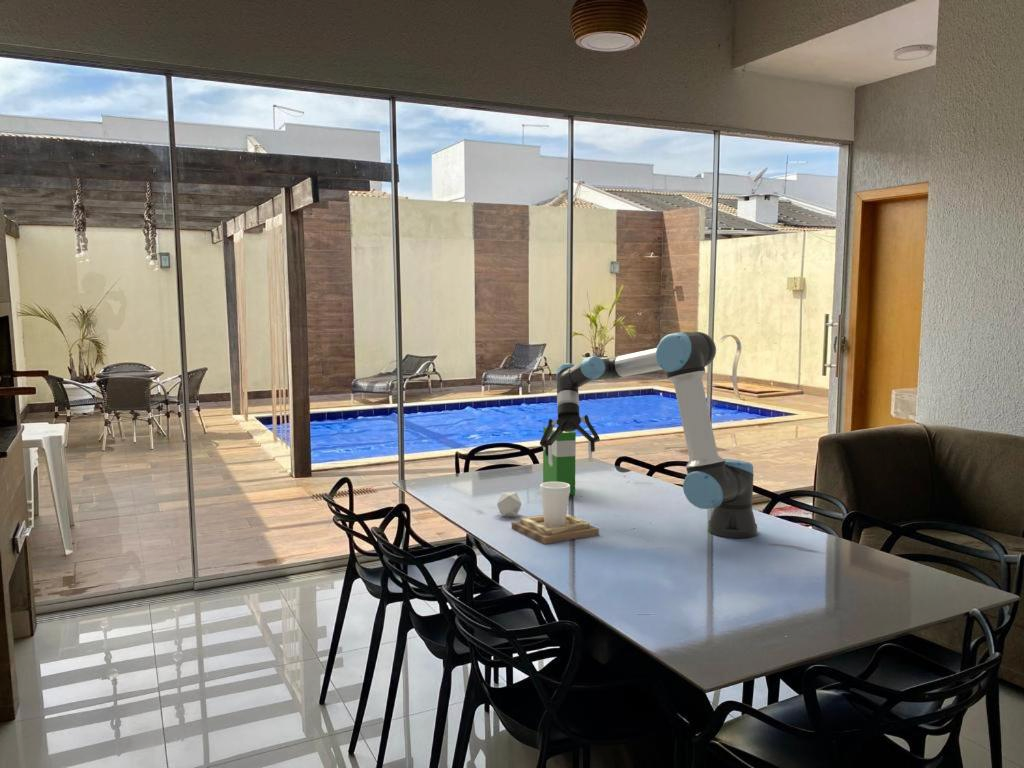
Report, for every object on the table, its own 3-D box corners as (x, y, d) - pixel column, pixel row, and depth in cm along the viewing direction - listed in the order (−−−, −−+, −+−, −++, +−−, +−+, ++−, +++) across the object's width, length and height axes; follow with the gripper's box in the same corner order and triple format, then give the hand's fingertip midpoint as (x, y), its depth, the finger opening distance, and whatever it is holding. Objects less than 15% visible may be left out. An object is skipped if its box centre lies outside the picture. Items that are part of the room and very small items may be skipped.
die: (512, 522, 268) (527, 497, 270) (490, 508, 269) (505, 484, 271) (512, 524, 276) (526, 500, 278) (491, 511, 277) (505, 487, 279)
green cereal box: (543, 486, 319) (543, 426, 316) (560, 485, 320) (561, 425, 318) (556, 496, 302) (556, 433, 299) (575, 495, 303) (575, 432, 301)
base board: (598, 534, 251) (598, 523, 251) (544, 544, 241) (544, 532, 241) (563, 519, 268) (563, 509, 268) (511, 528, 258) (511, 517, 258)
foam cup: (570, 521, 259) (570, 482, 257) (569, 529, 250) (569, 488, 248) (540, 520, 260) (541, 481, 258) (538, 528, 250) (539, 487, 249)
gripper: (605, 406, 278) (609, 463, 268) (535, 414, 284) (536, 470, 273) (602, 397, 272) (606, 454, 262) (530, 405, 277) (531, 462, 267)
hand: (570, 462), depth 268 cm, fingers open, 13 cm apart
